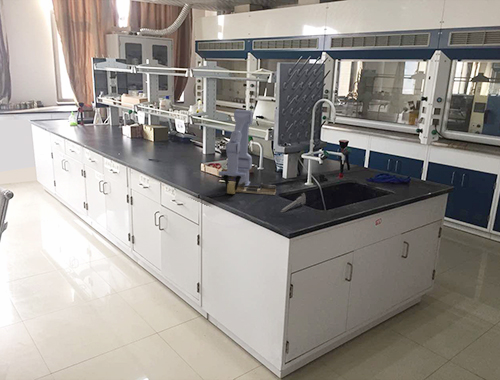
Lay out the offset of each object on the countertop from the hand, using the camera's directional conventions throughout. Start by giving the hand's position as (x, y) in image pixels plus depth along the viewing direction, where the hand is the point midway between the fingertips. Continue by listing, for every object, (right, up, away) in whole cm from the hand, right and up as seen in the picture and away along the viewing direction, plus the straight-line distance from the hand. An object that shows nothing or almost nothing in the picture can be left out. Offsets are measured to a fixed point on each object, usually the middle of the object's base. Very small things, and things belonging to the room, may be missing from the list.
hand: (232, 189), depth 224 cm
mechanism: (+11, -1, +8) cm, 14 cm away
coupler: (0, -1, 0) cm, 2 cm away
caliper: (+31, -10, -18) cm, 37 cm away
